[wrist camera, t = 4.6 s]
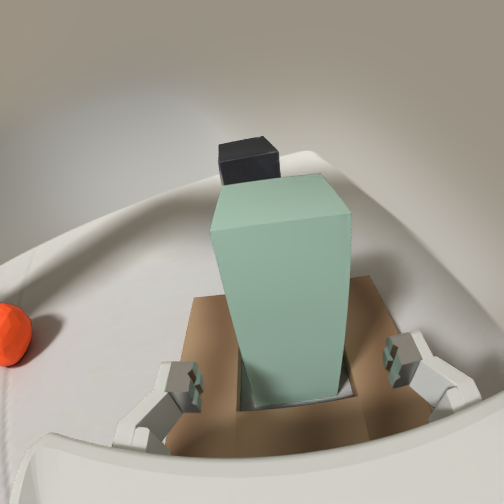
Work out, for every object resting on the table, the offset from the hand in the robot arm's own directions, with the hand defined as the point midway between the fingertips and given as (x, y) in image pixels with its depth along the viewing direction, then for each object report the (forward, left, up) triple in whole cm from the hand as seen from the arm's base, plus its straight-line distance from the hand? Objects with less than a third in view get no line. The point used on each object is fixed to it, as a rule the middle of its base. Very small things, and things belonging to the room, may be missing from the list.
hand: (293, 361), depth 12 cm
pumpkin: (-28, +6, -7) cm, 29 cm away
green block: (0, +4, -6) cm, 8 cm away
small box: (-2, +26, -7) cm, 27 cm away
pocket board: (0, +4, -6) cm, 8 cm away
